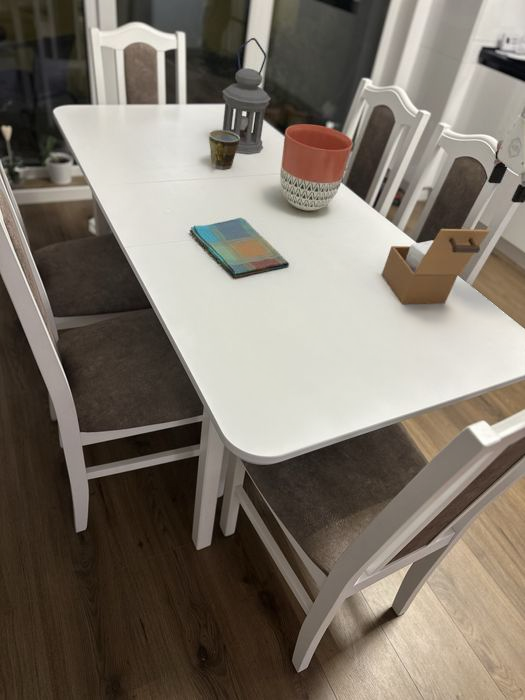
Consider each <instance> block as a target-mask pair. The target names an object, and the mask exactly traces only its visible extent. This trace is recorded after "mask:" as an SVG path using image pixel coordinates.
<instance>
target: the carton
mask: <svg viewBox="0 0 525 700" xmlns="http://www.w3.org/2000/svg"><path fill="white" fill-rule="evenodd" d="M410 246H411V245H410ZM410 246H409V245H407V246H405V245H403V246H402V245H401V246H399V245H392V246H390V249H389V252H388V255H387V258H386V261H385V263H384V267H383V270H382V273H381V276H382V277H383V279H384V280H385V281H386V283H387V284H388V286H389V287H390V289H391V290H392V291H393V293H394V294H395V296H396V297H397V299H398V300H399V302H400V303H401V304H402V305H429V304H430V305H433V304H446V302H447V300H448V298H449V296H450V294H451V291H452V290H453V287H454V285H455V282H456V280H457V279H458V276H459V275H415V274H414V272H413V271H412V270H411V268H410V267H409V266H408V264H407V263H406V262H405V261H406V258H407V255H408V252H409V249H410Z"/></svg>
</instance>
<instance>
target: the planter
mask: <svg viewBox="0 0 525 700" xmlns="http://www.w3.org/2000/svg"><path fill="white" fill-rule="evenodd" d="M353 145H354V143H353V140H352V139H351V137H349V136H348V135H347V134H344V133H343V132H341V131H339V130H336V129H333V128H330V127H327V126H323V125H318V124H307V123H299V124H294V125H293V124H292V125H290V126H288V127H287V128H286V129H285V132H284V139H283V148H282V155H281V163H280V173H279V174H280V175H279V176H280V177H279V179H280V188H281V192H282V194H283V196H284V198H285V199H286V200H287V202H288V203H289V204H290V205H292V206H293V207H294V208H296V209H298V210H301V211H308V212H311V211H312V212H313V211H317V210H319V209H322V208H324V207H326V206H327V205H329V204H330V203H331V202H332V201H333V199H334V198H335V197H336V195H337V193H338V191H339V189H340V186H341V183H342V180H343V178H344V174H345V171H346V168H347V164H348V162H349V158H350V156H351V152H352V148H353Z"/></svg>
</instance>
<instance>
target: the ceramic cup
mask: <svg viewBox="0 0 525 700" xmlns="http://www.w3.org/2000/svg"><path fill="white" fill-rule="evenodd" d="M208 139H209V140H208V141H209V149H210V151H209V153H210V162H211V163H210V164H211V166H213V167H214V168H215V169H218V170H222V171H226V170H230V169H231V167H232V166H233V163H234V160H235V157H236V154H237V153H236V150H237V148H238V144H239V141H240V137H239V136H238V135H237V134H235V133H233V132H230V131H225V130H223V129H216V130H212V131H210V132H209V134H208Z"/></svg>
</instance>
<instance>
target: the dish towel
mask: <svg viewBox="0 0 525 700" xmlns="http://www.w3.org/2000/svg"><path fill="white" fill-rule="evenodd" d="M189 233H190V234H191V236H193V238H195V239H196V240H197V241H198V242H199V243H200V244H201V245H202V247H204V248H205V249H206V250H207V251H208V252H209V253H210V254H211V255H212V256H213V258H214V259H216V260H217V261H218V262H219V264H220V265H221V266H222V267H223V268H224V269H225V270H226V271H227V272H228V273H229V274H230V275H231V277H232V278H240V277H244V276H245V277H246V276H249V275H254V274H258V273H263V272H268V271H269V272H270V271H273V270H274V271H275V270H278V269H283V268H288V267H290V263H289V261H288V260H286V258H284V256H283V255H282V254H280V252H279V251H278V250H277V249H276V248H275V247H273V245H271V244H270V243H269V242H268V241H267V240H266V239H265V238H264V237H263V236H262V235H261V234H260V233H259V232H258V231H257V230H256V229H255V228H254V227H253V226H252V225H251V224H250V223H249V222H248V221H247V220H246V219H245V218H242V217H237V218H234V219H229V220H225V221H220V222H215V223H212V224H211V223H210V224H205V225H193V226H191V227H190V230H189Z"/></svg>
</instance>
